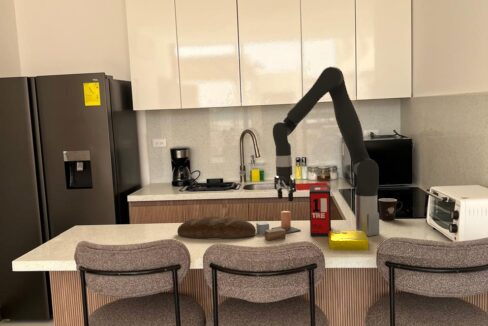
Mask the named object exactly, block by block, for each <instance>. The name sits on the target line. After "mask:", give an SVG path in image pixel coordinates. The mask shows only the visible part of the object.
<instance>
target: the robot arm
mask: <svg viewBox="0 0 488 326" xmlns="http://www.w3.org/2000/svg"><path fill="white" fill-rule="evenodd" d="M344 77H345V76H344V74H343V71H342V70H341V69H340V68H338V67H337V66H328V67H325V68H324V69H323V70H322V71H321V72H320V74H319V76H318V78H317V79H316V80H315V82H314V83H313V85H312V86H311V87H310V88H309V90H308V91H307V92H306V93H305V94H304V95H303V96H302V97H301V98H300V99H299V100H298V101H297V102H296V103H295V104H294V105H292V106H293V107H292V108H290V109H289V111H288V112H287V113H286V117H285V118H284V119H283V120H282V121H278V122H276V123H274V125H273V127H272V137H273V142H274V145H275V175H276V176H274V177H273V178H274V179H273V180H274V181H273V183H274V186H273V187H274V190H276V192H277V199H278V200H282V199H283V189H285V190H286V191H287V200H288V202H293V201H294V193H296V192H297V185H296V184H297V183H296V178H291V177H292V176H293V173H294V172H293V158H292V147H291V145H292V144H291V143H289V139H288V137H289V136H290V135H291V134H292V133H293V132H294V130H295V129H296V128H297V127H298V125H299V124H300V122H302V121H303V120H304V118H305V117H307V115H309V114H310V112H311V111H312V110H313V109H314V107H315V106H316V105H317V104H318V102H319V101H320V100H321V99H322V98H323V97H324V96H325V95H327V94H329V96H330V98H331V101H332V106H333V113H334V117H335V122H336V125H337V126H338V130H339V132H340V134H341V136H342V137H341V138H342V139H343V141H344V143H345V146H346V148H347V150H348V153H349V156H350V157H349V158H350V160H351V164H352V169H353V172H354V173H355V175H356V187H355V189H354V191H355V194H354V195H355V196H354V197H355V198H354V199H355V200H354V202H355V204H354V205H355V207H354V208H355V209H354V211H355V212H354V213H355V231H364V232H365V233H366V235H367V237H371V236H373V237H374V236H377V235H380V212H378V189H379V183H380V181H379V180H380V179H379V177H380V173H379V171H380V169H379V165H378V163H377V162H376V160H374V159H371V158H370V155H369V153H368V151H367V148H366V145H365V142H364V133H363V128H362V124H361V122H360V119H359V115H358V114H357V111H356V108H355V105H354V103H353V102H352V100H351V98H350V95H349V93H348V89H347V86H346V81H345V78H344Z"/></svg>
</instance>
